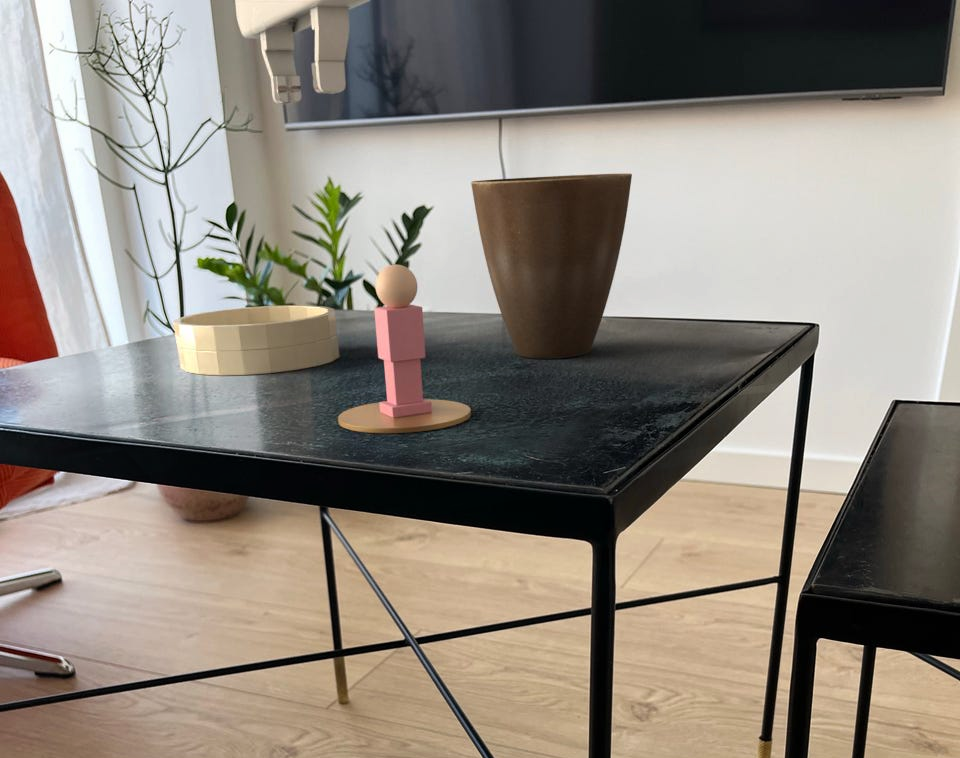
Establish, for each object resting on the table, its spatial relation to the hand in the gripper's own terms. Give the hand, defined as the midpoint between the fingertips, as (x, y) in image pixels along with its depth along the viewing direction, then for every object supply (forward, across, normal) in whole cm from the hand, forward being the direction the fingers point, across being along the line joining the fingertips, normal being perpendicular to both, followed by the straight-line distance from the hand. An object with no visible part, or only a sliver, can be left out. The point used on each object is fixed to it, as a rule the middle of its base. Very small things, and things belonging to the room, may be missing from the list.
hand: (307, 98), depth 71 cm
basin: (+22, -25, +1) cm, 33 cm away
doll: (+21, +6, +4) cm, 22 cm away
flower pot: (+22, -12, +27) cm, 37 cm away
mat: (+22, +6, +4) cm, 23 cm away
